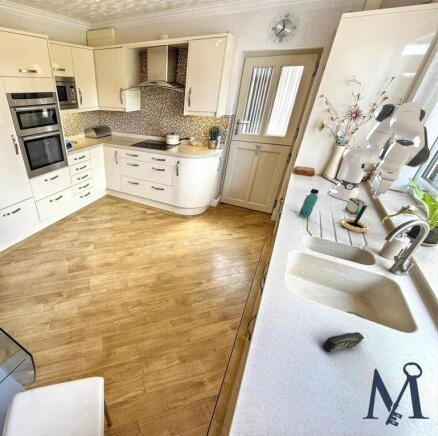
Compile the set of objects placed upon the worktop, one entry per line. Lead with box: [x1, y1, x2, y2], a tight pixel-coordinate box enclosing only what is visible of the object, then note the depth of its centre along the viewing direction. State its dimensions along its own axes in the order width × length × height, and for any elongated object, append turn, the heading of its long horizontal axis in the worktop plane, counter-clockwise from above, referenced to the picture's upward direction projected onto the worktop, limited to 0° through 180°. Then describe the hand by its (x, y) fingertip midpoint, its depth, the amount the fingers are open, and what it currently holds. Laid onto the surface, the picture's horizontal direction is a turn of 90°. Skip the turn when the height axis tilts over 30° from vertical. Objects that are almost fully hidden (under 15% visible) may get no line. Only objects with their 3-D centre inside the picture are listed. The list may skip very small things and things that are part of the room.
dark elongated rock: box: [322, 331, 365, 353], centre depth 77 cm, size 5×3×15 cm
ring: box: [340, 218, 370, 233], centre depth 144 cm, size 14×14×2 cm
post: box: [342, 204, 368, 234], centre depth 143 cm, size 10×10×15 cm
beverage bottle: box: [298, 188, 319, 219], centre depth 150 cm, size 6×7×20 cm
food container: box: [344, 197, 366, 217], centre depth 159 cm, size 12×6×10 cm, turn 168°
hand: (373, 195), depth 131 cm, fingers open, 8 cm apart
